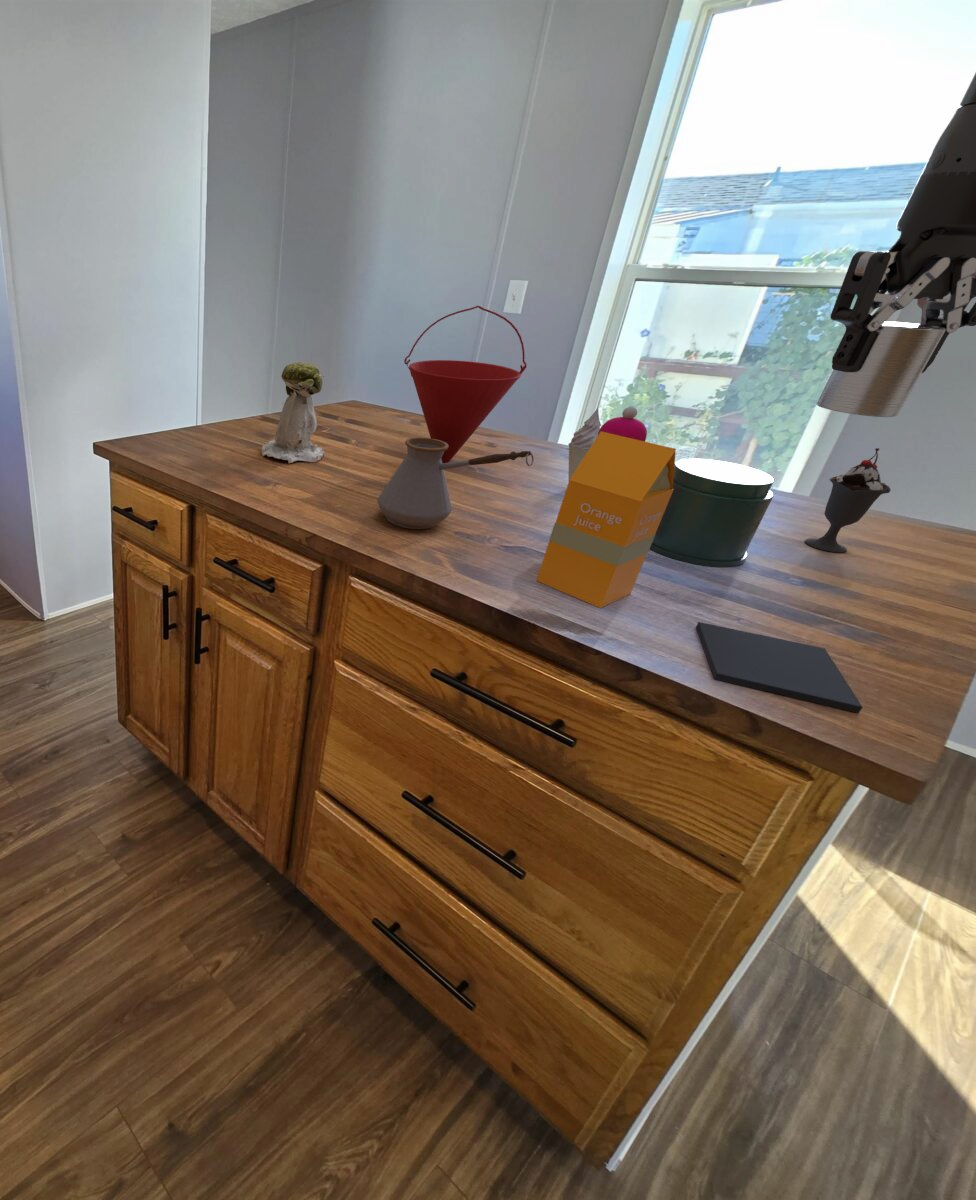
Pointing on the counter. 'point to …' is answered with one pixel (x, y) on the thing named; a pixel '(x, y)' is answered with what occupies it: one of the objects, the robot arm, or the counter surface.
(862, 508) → the sundae
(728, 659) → the mat
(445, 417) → the fire bucket
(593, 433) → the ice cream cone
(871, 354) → the silver cup
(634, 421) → the pepper mill
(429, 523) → the coffee pot
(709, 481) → the canister
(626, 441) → the orange juice
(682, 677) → the counter surface
